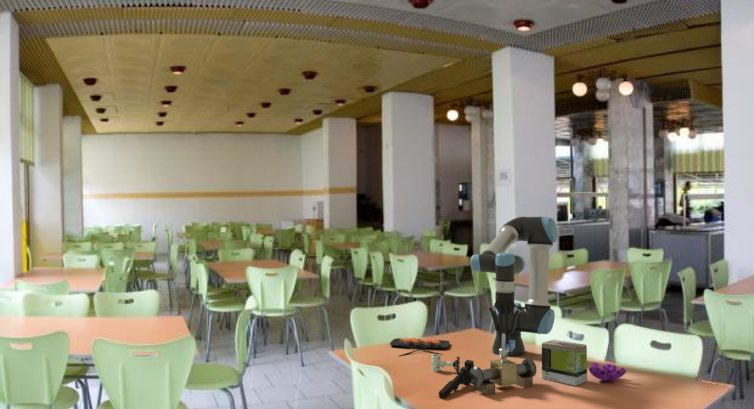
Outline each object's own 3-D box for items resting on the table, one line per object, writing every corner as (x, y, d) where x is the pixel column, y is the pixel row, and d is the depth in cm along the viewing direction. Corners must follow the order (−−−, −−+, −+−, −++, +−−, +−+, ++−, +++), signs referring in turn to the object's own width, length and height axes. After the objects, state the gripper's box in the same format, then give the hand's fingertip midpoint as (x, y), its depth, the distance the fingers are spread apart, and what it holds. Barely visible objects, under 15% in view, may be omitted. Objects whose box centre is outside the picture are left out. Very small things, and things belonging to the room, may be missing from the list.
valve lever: (506, 358, 228) (506, 350, 228) (498, 357, 229) (498, 349, 229) (515, 347, 244) (515, 340, 244) (508, 346, 245) (508, 339, 245)
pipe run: (523, 380, 239) (523, 350, 239) (537, 385, 232) (537, 355, 232) (468, 389, 228) (468, 359, 227) (481, 395, 220) (481, 364, 220)
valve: (429, 372, 251) (458, 374, 248) (429, 357, 251) (458, 358, 248) (432, 368, 257) (460, 370, 254) (432, 353, 257) (460, 354, 254)
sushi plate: (450, 344, 301) (450, 336, 301) (443, 360, 272) (443, 351, 272) (394, 341, 308) (394, 334, 308) (381, 356, 278) (381, 348, 278)
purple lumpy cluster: (614, 384, 243) (629, 368, 240) (605, 394, 231) (621, 377, 228) (591, 364, 248) (606, 348, 245) (581, 373, 236) (597, 356, 233)
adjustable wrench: (439, 410, 220) (469, 379, 240) (446, 411, 218) (475, 380, 238) (437, 389, 218) (467, 359, 238) (444, 390, 217) (473, 360, 237)
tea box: (587, 381, 238) (587, 344, 237) (575, 387, 231) (575, 348, 230) (553, 373, 248) (553, 338, 248) (540, 378, 241) (540, 342, 241)
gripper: (486, 291, 242) (486, 349, 242) (517, 293, 235) (517, 353, 235) (493, 288, 248) (492, 345, 248) (523, 291, 241) (523, 349, 241)
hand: (504, 349), depth 242 cm, fingers closed
